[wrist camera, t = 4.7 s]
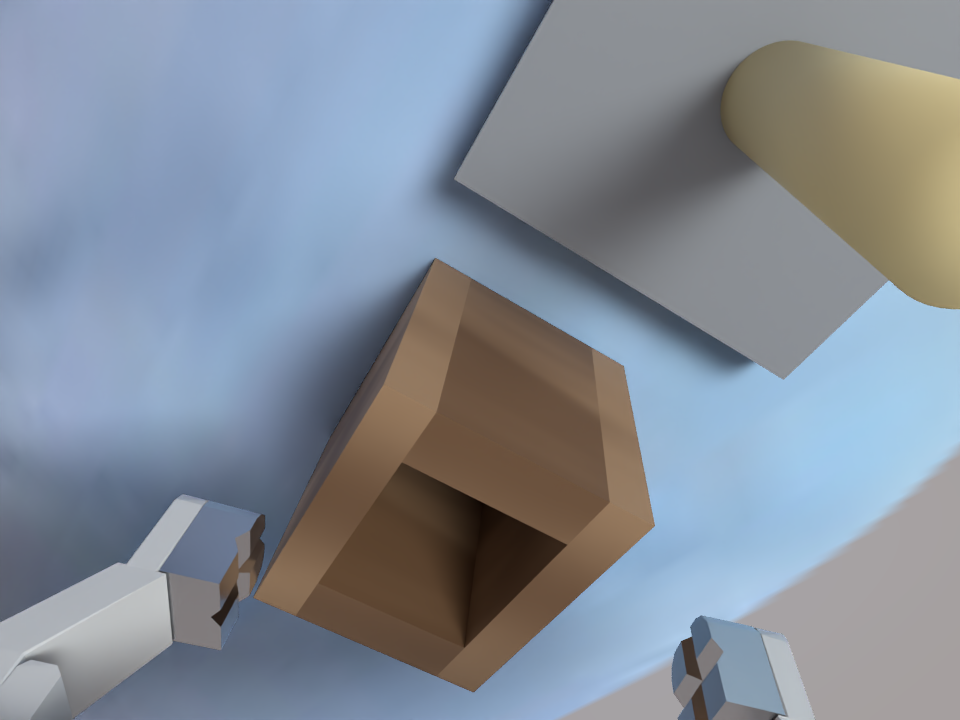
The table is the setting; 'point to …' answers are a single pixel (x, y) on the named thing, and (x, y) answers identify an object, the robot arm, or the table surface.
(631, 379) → the table surface
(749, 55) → the post stand
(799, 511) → the table surface
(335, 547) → the collar
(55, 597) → the robot arm
